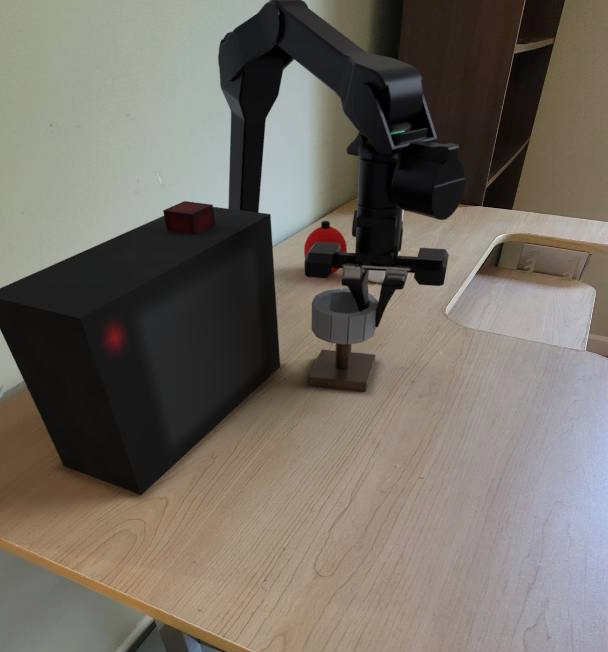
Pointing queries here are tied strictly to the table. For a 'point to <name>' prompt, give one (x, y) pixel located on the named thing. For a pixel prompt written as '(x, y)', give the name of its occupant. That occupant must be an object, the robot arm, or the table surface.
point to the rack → (342, 369)
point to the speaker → (147, 339)
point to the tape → (342, 317)
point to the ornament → (325, 238)
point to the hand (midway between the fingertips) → (371, 325)
